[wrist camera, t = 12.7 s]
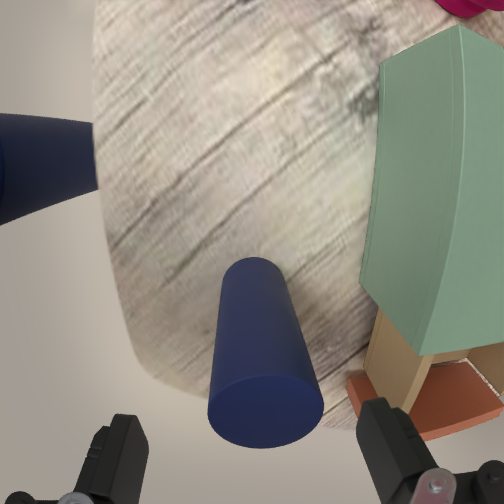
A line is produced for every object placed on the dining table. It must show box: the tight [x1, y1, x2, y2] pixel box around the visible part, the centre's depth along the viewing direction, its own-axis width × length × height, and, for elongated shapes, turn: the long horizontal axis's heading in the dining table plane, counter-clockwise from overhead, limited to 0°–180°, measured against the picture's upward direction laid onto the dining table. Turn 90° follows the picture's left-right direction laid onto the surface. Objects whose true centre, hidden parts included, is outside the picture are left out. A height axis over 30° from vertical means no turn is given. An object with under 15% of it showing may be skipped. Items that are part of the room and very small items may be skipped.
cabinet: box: [359, 24, 504, 356], centre depth 14 cm, size 15×14×9 cm
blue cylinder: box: [207, 257, 324, 449], centre depth 15 cm, size 4×4×11 cm
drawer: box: [346, 307, 504, 442], centre depth 18 cm, size 18×12×7 cm
